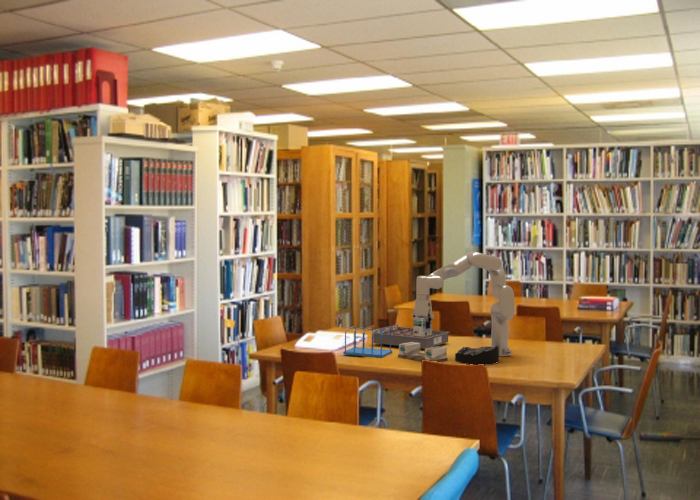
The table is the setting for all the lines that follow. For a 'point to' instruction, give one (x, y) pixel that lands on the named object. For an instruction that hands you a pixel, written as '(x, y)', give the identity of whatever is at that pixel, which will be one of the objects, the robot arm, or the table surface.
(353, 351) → the file sorter
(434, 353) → the rail board
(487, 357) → the topographical model
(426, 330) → the light bulb box
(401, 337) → the organizer tray
